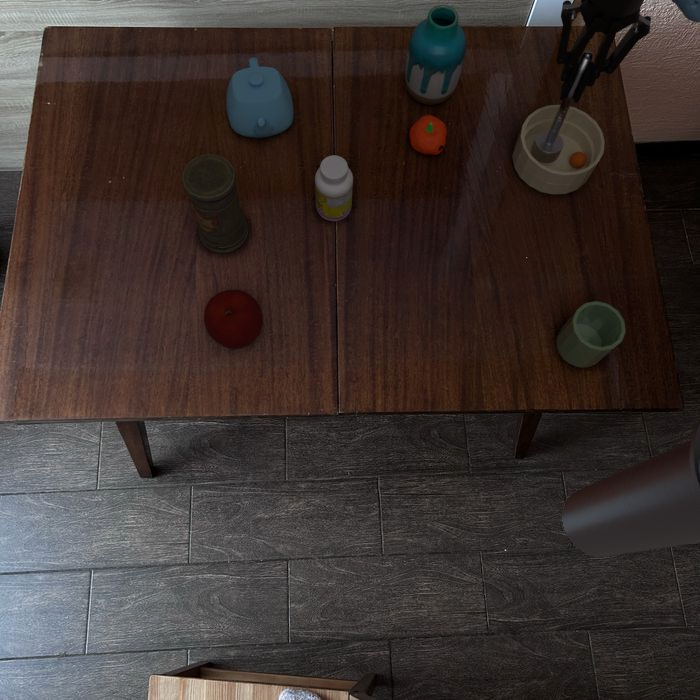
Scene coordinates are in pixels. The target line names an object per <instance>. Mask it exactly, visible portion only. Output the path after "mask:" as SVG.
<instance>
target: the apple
mask: <svg viewBox="0 0 700 700" xmlns="http://www.w3.org/2000/svg"><path fill="white" fill-rule="evenodd" d="M203 322H204V323H203V324H204V327H205V330H206V332H207V334H208V335H209V336H210V338H211V339H212V340H213V341H214V342H216V343H217V344H219V345H220V346H222V347H225V348H226V349H227V348H228V349H231V350H232V349H233V350H239V349H244V348H246V347H248V346H249V345H251V344H253V343H254V342H255V341H256V340H257V339H258V337H259V336H260V334H261V332H262V329H263V323H264V317H263V311H262V309H261V306H260V304H259V303H258V301H257V299H256V298H254V296H252V295H251V294H250V293H248V292H246V291H244V290H241V289H234V288H233V289H225V290H223V291H219V292H218V293H216V294H215V295H213V296H212V297H211V298H210V299H209V300H208V302H207V303H206V305H205V308H204V313H203Z"/></svg>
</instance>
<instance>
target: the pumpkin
mask: <svg viewBox="0 0 700 700" xmlns="http://www.w3.org/2000/svg"><path fill="white" fill-rule="evenodd" d="M447 131H448V129H447V126H446V124H445V122H444V121H442V120H441V119H440V118H438V117H436V116H434V115H431V114H425V115H423V116H420V118H419V119H418V120H417V121H415V123H413V124H412V126H411V127H410V128H409V135H408V136H409V141H410V145H411V147H412V149H414V150H415V151H416V152H418V153H419V154H420V153H421V154H422V155H432V156H438V155H439V154H441V153H442V152H443V150H444V149H445V147H446V146H447V143H448V141H447V139H448V133H447Z"/></svg>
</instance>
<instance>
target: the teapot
mask: <svg viewBox="0 0 700 700" xmlns="http://www.w3.org/2000/svg"><path fill="white" fill-rule="evenodd" d="M248 66H249V67H246V68H242V69H239V70H237V71H236V72H234V73H233V75H232V77H231V78H230V80H229V83H228V85H227V90H226V103H225V105H226V113H227V118H228V122H229V124H230V127H231V129H232V130H233V131H234V132H235V133H237V134H238V135H240V136H243V137H247V138H252V139H253V138H255V139H260V138H268V137H272V136H273V137H274V136H276V135H280V134H281V133H283V132H285V131H287V130H288V129H289V128H290V127H291V125H292V124H293V121H294V113H295V112H294V103H293V97H292V93H291V90H290V88H289V86H288V83H287V81H286V80H285V78H284V76H283V75H282V74H281V73H280V72H279V71H278V70H277V69H276V68H274V67H272V66H270V67H269V66H260V65H259V60H258V58H257V57H255V56H253V57H250V58H248Z"/></svg>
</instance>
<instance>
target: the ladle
mask: <svg viewBox="0 0 700 700" xmlns="http://www.w3.org/2000/svg"><path fill="white" fill-rule="evenodd" d="M593 56H594V54H593V52H592V51H591V50H589V49H588V50H584V51H583V53H582V55H581V57H580V58H579V63H578V70H577V74H576V76H575V78H574V80H573V82H572V84H571V87H570V89H569V91H568V93H567V95H566V97H565V100H562V101H561V103H560V104H559V105H560V107H559V110H558V112H557V114H556V117H555V119H554V121H553V124H552V126H551V128H550V131H542V132H540V133H539V134H538V135H537V136H536V138H535V140H534V143H533V145H532V148H531V153H532V156H533V157H534V158H535V159H536V160H538V161H539V162H542V163H552V162H554V161H556V160H557V159H558V157H559V155H560V152H561V150H562V148H563V145H564V142H563V139H562V138H561V136H560V135H558V133H559V130H560V128H561V126H562V124H563V121H564V119H565V117H566V115H567V113H568V110H569V108H570V106H571V107H572V104H573V101H574V97H575V95H576V93H577V90H578V88H579V86H580V84H581V81H582V79H583V77H584V75H585V72H586V70H587V68H588V66H589V64H590V61H591V62H592V59H593V58H594V57H593Z"/></svg>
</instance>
